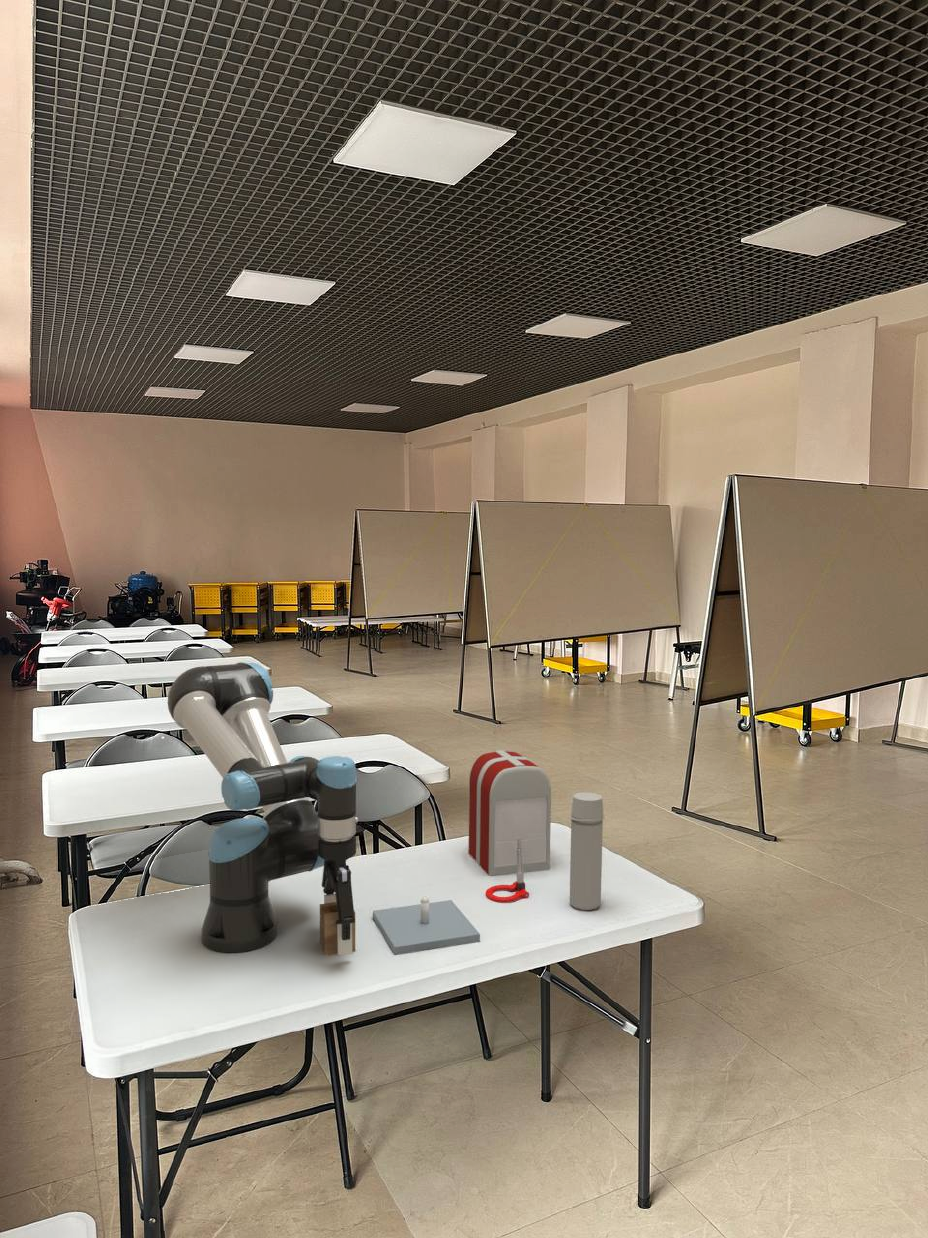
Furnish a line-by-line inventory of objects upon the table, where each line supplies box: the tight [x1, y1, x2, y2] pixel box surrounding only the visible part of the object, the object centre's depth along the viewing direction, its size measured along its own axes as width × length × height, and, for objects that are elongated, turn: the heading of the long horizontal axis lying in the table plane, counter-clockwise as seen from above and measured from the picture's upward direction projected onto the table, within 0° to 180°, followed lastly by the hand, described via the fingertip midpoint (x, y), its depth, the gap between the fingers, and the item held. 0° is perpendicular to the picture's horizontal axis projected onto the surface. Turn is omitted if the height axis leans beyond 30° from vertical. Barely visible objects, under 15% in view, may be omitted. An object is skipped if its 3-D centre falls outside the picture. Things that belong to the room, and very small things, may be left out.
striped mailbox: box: [467, 749, 552, 877], centre depth 223 cm, size 16×18×27 cm
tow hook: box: [485, 839, 530, 904], centre depth 202 cm, size 8×13×9 cm
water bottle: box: [568, 791, 605, 911], centre depth 197 cm, size 9×8×25 cm
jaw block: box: [319, 902, 356, 956], centre depth 176 cm, size 6×6×8 cm
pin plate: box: [372, 896, 481, 955], centre depth 184 cm, size 18×18×7 cm
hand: (337, 939), depth 176 cm, fingers open, 13 cm apart
